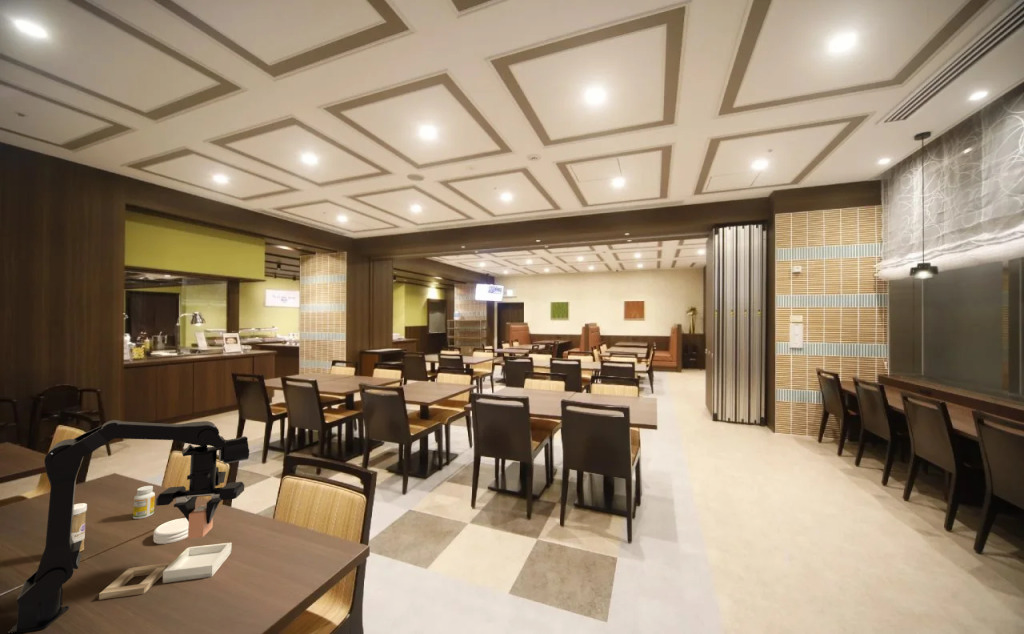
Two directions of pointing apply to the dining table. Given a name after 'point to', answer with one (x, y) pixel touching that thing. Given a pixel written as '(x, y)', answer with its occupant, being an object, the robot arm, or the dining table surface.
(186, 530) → the coaster
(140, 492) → the supplement bottle
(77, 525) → the sprinkles bottle
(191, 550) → the tray
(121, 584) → the holder
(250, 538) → the dining table surface
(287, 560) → the dining table surface
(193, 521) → the block
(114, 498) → the dining table surface
